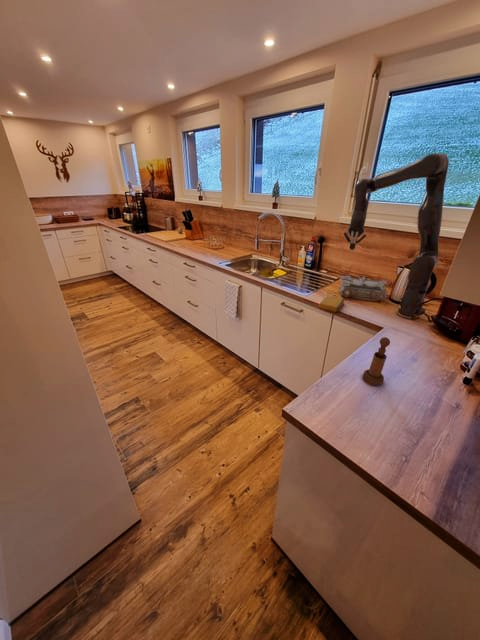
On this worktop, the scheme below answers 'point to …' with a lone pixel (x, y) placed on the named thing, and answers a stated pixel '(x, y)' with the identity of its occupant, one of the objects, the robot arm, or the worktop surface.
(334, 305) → the tan upright box
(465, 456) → the worktop surface
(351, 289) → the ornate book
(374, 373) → the brown knobbed pedestal
